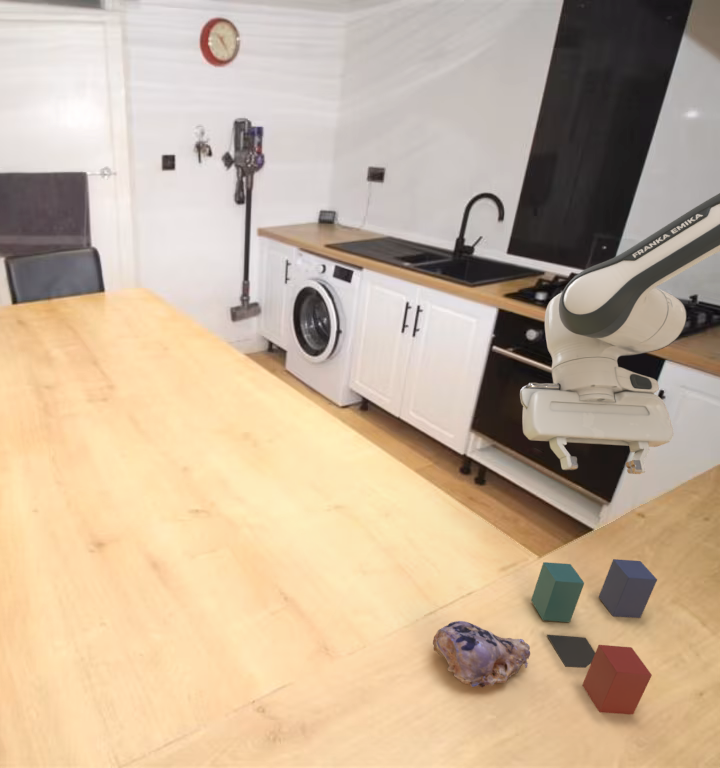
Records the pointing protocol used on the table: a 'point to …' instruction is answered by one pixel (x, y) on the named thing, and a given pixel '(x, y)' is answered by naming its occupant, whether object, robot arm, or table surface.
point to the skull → (479, 653)
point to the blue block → (627, 588)
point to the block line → (608, 664)
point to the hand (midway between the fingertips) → (603, 471)
